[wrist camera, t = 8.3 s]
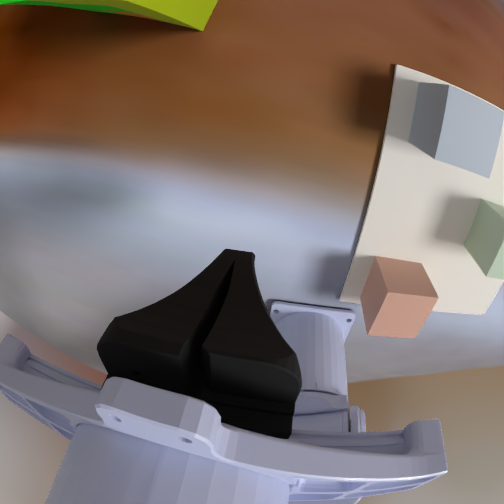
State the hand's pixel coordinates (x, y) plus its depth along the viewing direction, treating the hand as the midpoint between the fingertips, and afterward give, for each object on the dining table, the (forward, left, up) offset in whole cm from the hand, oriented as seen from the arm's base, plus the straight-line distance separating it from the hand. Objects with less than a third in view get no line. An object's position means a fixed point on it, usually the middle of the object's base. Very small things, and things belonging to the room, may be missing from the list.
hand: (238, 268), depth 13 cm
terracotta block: (-6, -12, -9) cm, 16 cm away
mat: (+1, -17, -9) cm, 19 cm away
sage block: (+1, -20, -9) cm, 22 cm away
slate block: (+8, -12, -9) cm, 17 cm away
